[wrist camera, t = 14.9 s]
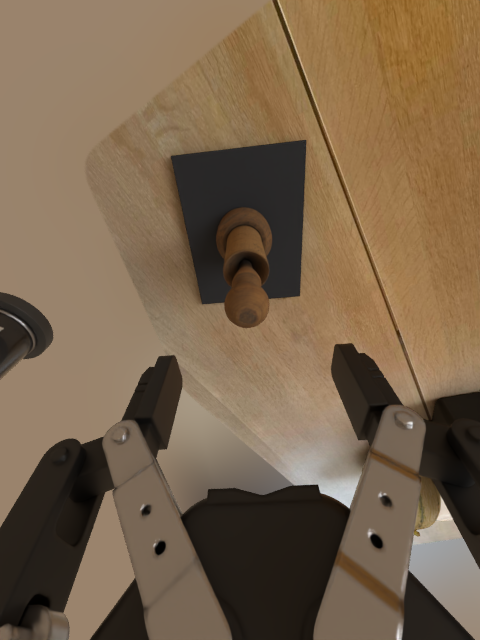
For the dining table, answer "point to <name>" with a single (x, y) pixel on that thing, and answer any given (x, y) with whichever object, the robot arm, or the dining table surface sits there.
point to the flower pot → (457, 408)
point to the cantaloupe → (427, 505)
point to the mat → (244, 191)
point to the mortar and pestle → (245, 264)
